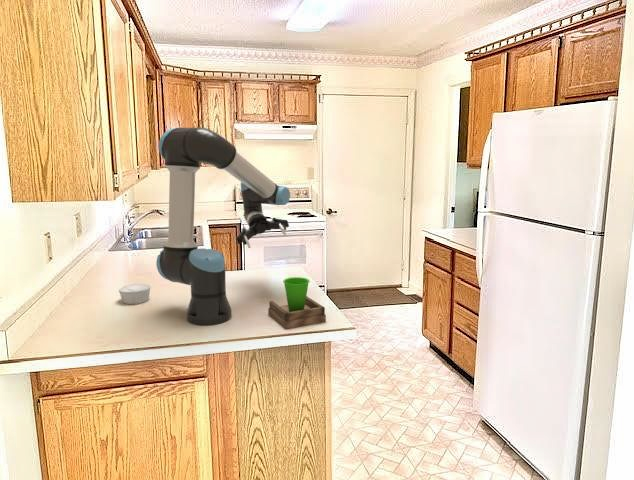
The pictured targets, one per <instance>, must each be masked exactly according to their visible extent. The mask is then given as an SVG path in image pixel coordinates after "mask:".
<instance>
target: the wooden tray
mask: <svg viewBox="0 0 634 480" xmlns="http://www.w3.org/2000/svg"><path fill="white" fill-rule="evenodd" d="M268 303H269V304H268V305H269V307H268V309H267V311H268V312H267V314H268V315H267V316H270V318H272V319H273V320H274V321H275V322H276V323H278V324H279V325H280V326H281V327H282V328H283V329H285V330H288V329H294V328H298V327H303V326H304V327H305V326H310V325H315V324H320V323H326V322H327V314H326V311H325V306H323V305H321V304H320V303H318V302H316V301H315V300H314V299H312V298H311V297H309V296H307V295H306V301H305V307H304V310H299V311H293V312H289V308H288V304H286V305H279V304H277V303H276V302H275V301H273V300H270V301H269V302H268Z"/></svg>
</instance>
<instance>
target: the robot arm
mask: <svg viewBox="0 0 634 480" xmlns="http://www.w3.org/2000/svg"><path fill="white" fill-rule="evenodd" d="M158 141H159V142H158V151H159V155H161V158H162V159H163V160H164V162H165V163H164V166H165V168H166V169H167V170H168V171H169V190H168V197H169V198H168V230H167V231H168V233H167V234H168V236H167V237H168V239H167V241H165V243H163V249H162V250H160V252H159V254H158V255H157V257H156V263H155V264H156V269H157V271H158V274H159V275H160V276H161V277H162V278H163V279H165V280H167V281H169V282H172V283H178V284H184V285H187V286H190V295H191V296H190V300H189V304H188V308H187V311H186V320H187V321H188V323H191V324H193V325H201V326H210V325H217V324H218V325H219V324H221V323H222V324H223V323H224V322H227V321H229V320H230V319H231V318H232V308H231V306H230V302H229V300H228V297H227V293H226V292H227V291H226V288H227V287H226V263H225V255H224V253H222V252H221V251H219V250H217V249H212V248H202V247H201V248H198V246H199V245H198V244H197V243H196V242H195V240H194V234H195V233H194V229H195V200H196V199H195V198H196V196H195V195H196V193H195V192H196V174H197V172H198V171H199V170H200V169H201V163H203V164H209V165H212V166H213V167H215V168H217V169H218V170H224V171H225V172H227V173H229V174H230V175H231V176H232V177H233V178H235V179H237V180H238V181H239V182H240V193H241V199H242V204H243V216H244V217H243V218H244V220H245V222H246V223H247V225H248V228H245V227H243V228H241V231H240V232H239V234H238V235H237V236H236V237H235V238H236V241H237V244H238V245H241V244H243V246H244V245H245V246H246V245H247V247H248V249H251V245H250V242H249V240H250V239H252V238H253V237H254V236H256V235H261V234H263V233H265V232H266V231H271V230H280V232H281V233H282V234H283V236H287V232H286V231H287V228H288V227H290V224H289V222H288V219H281V218H276V217H272V218H271V220H267V219H268V218H266V216H265V215H264V214H263V213H264V212H263V205H264V204H265V205H271V206H272V205H273V206H285V205H287V204H288V203H289V202H290V198H291V192H290V189H289V188H288V186H283V185H278V184H276V183H275V182H274V181H273V180H271V179H270V178H269V177H268V176H266V175H265V174H264V173H263V172H262V171H260V169H258V168H257V167H256V166H255V165H253V163H251V162H250V161H248V159H246V158H244V157H243V155H241V154H240V153H239V152H237V149H236V146H234V145H233V144H232V143H231V141H229V140H227V139H226V138H224V137H223V136H222V135H220V134H218V133H217V132H215V131H213V130H211V129H210V128H206V127H198V126H197V127H174V128H170V129H167V130H166V131H165V132H163V134H161V136H160V139H159V140H158Z"/></svg>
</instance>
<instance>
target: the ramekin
mask: <svg viewBox="0 0 634 480" xmlns="http://www.w3.org/2000/svg"><path fill="white" fill-rule="evenodd" d="M118 292H119V294H120V299H121V301H122V303H124V304H126V305H137V304H138V305H139V304H141V303H145V302H147V301H149V298H150V292H151V285H150V284H148V283H147V284H146V283H132V284H127V285H123V286H121V287H119V289H118Z"/></svg>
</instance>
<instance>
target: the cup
mask: <svg viewBox="0 0 634 480" xmlns="http://www.w3.org/2000/svg"><path fill="white" fill-rule="evenodd" d="M282 282H283V284H284V289H285V296H286V301H287V305H288V308H289V312H293V311H299V310H304V307H305V301H306V296H307V293H308V287H309V283H310V282H311V281H310V279H308V278H306V277H303V276H302V277H301V276H299V277H297V276H294V277H287V278H284V279H283V281H282Z"/></svg>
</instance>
